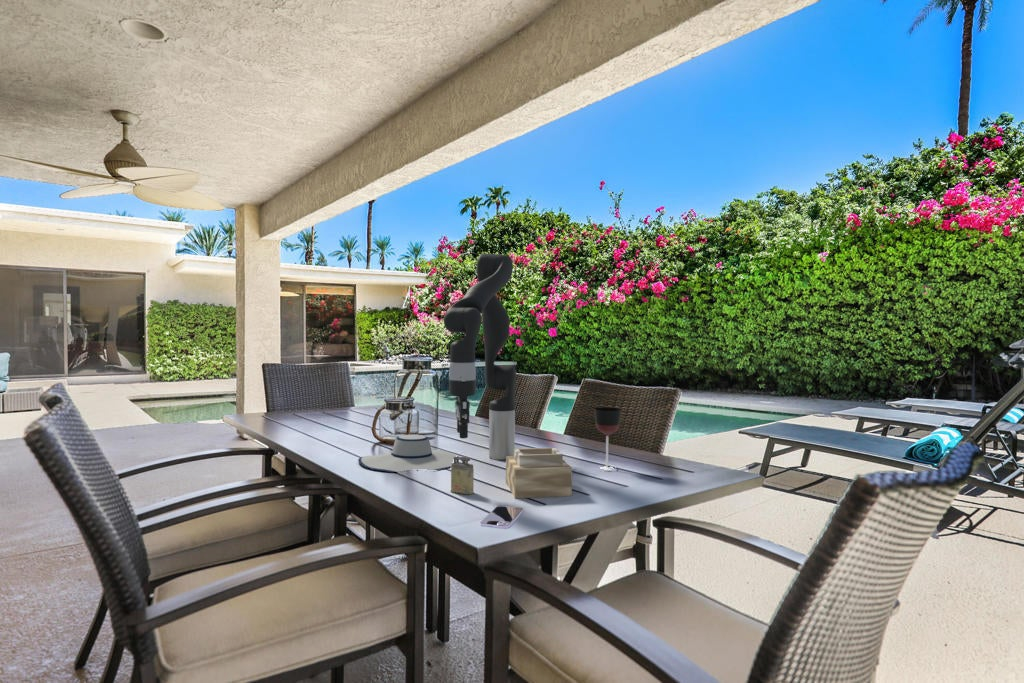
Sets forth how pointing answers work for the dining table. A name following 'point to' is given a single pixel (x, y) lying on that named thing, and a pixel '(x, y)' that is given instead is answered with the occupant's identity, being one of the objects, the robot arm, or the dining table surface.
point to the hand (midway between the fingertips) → (462, 435)
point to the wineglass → (607, 425)
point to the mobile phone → (502, 517)
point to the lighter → (462, 476)
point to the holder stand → (538, 473)
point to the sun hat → (409, 456)
